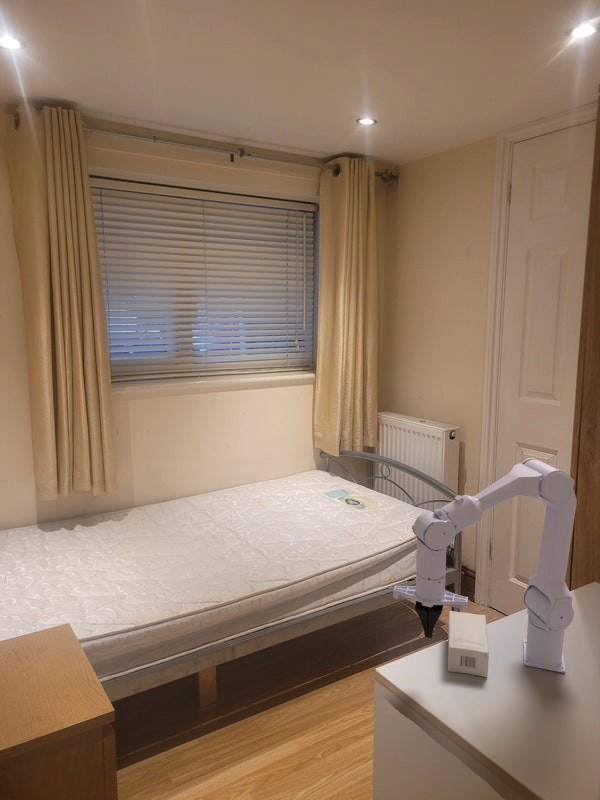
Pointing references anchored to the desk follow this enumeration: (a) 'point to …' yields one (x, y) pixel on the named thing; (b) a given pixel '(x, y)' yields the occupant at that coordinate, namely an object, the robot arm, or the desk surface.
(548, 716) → the desk surface
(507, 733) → the desk surface
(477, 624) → the skincare box
